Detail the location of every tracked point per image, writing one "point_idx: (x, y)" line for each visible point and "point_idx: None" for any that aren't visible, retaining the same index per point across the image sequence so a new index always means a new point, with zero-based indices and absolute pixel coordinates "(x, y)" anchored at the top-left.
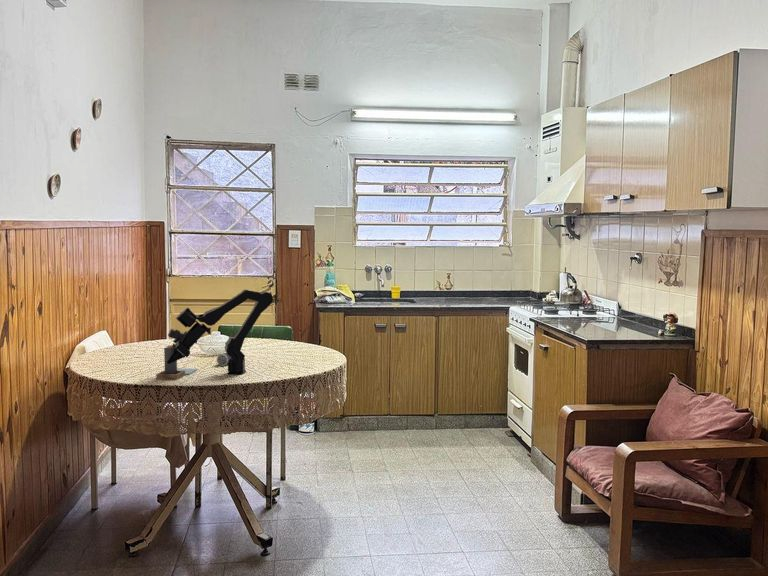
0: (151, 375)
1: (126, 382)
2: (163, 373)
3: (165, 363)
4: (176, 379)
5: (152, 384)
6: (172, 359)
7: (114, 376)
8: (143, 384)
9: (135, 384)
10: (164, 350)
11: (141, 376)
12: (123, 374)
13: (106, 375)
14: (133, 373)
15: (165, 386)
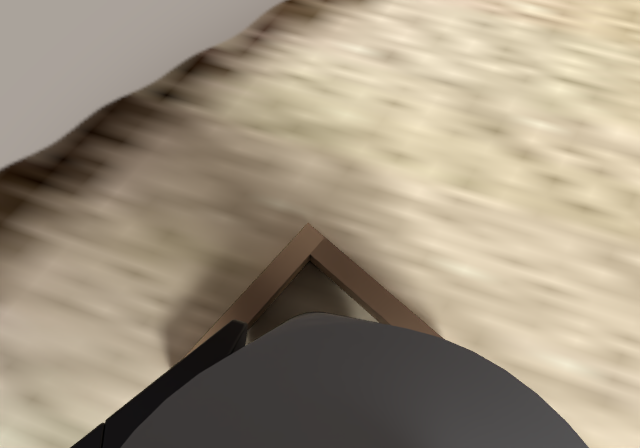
0: (470, 245)
1: (320, 42)
2: (379, 317)
3: (302, 316)
4: None
5: (145, 153)
6: None
7: (544, 37)
8: (188, 106)
9: (224, 67)
10: (352, 319)
11: (466, 172)
12: (589, 95)
13: (594, 11)
14: (601, 157)
15: (6, 209)
